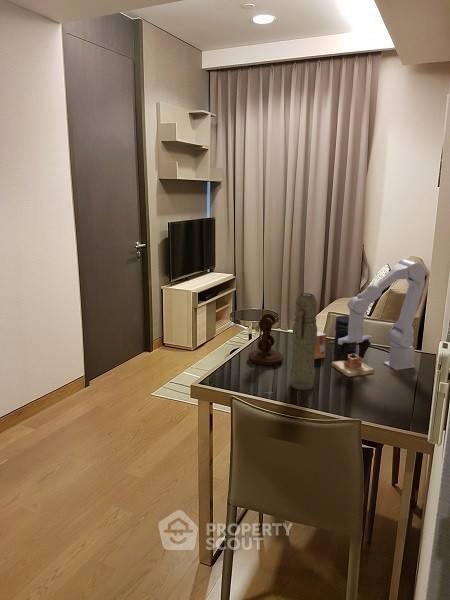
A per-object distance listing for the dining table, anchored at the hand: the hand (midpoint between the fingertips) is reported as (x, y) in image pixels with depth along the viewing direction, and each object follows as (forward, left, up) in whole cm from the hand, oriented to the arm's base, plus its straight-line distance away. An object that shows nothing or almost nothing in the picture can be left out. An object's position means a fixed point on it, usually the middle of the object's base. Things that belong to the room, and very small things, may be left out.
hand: (353, 359), depth 189 cm
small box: (+8, -17, -5) cm, 19 cm away
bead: (0, 0, -3) cm, 3 cm away
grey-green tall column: (+27, +7, -5) cm, 28 cm away
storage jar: (-9, -19, -5) cm, 22 cm away
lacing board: (0, 0, -4) cm, 4 cm away
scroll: (+30, -19, -5) cm, 36 cm away
